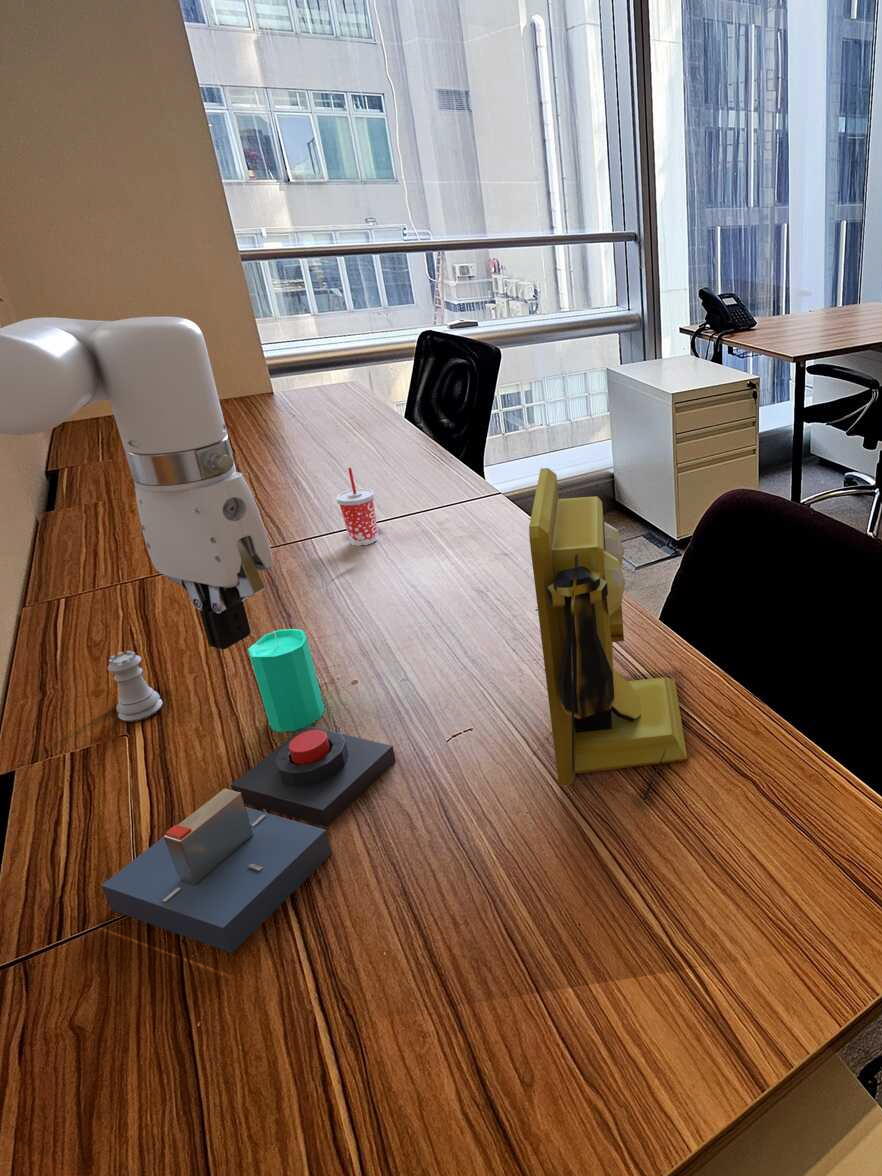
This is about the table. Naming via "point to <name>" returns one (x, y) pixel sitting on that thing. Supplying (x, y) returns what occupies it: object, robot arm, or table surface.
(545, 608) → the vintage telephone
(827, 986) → the table surface
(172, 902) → the control panel
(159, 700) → the rook chess piece
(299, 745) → the button
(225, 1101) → the table surface
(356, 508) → the beverage cup
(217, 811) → the handle
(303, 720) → the candle
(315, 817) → the button block
